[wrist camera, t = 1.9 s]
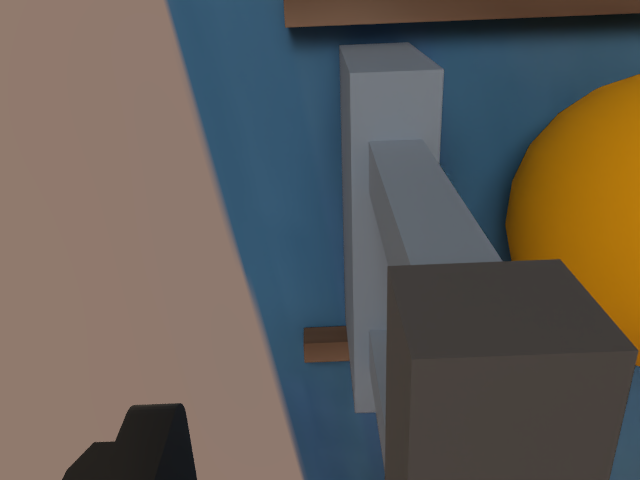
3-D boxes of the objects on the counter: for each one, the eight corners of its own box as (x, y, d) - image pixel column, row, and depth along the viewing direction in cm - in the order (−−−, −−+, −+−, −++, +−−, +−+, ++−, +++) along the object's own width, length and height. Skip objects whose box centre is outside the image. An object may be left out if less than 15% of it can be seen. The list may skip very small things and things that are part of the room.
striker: (339, 44, 17) (415, 246, 5) (408, 42, 17) (663, 236, 5) (345, 316, 21) (396, 816, 9) (401, 314, 21) (533, 812, 9)
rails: (284, -6, 17) (283, -4, 16) (883, -30, 17) (916, -30, 16) (304, 346, 22) (304, 362, 21) (765, 327, 22) (785, 343, 21)
